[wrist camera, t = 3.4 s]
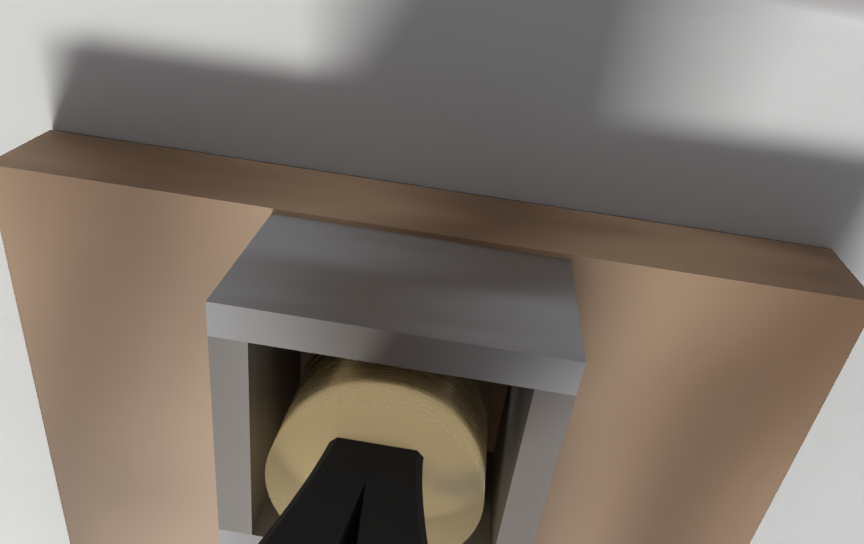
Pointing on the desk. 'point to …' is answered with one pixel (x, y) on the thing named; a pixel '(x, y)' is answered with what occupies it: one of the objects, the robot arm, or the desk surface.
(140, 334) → the knob panel
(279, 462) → the knob
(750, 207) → the desk surface
